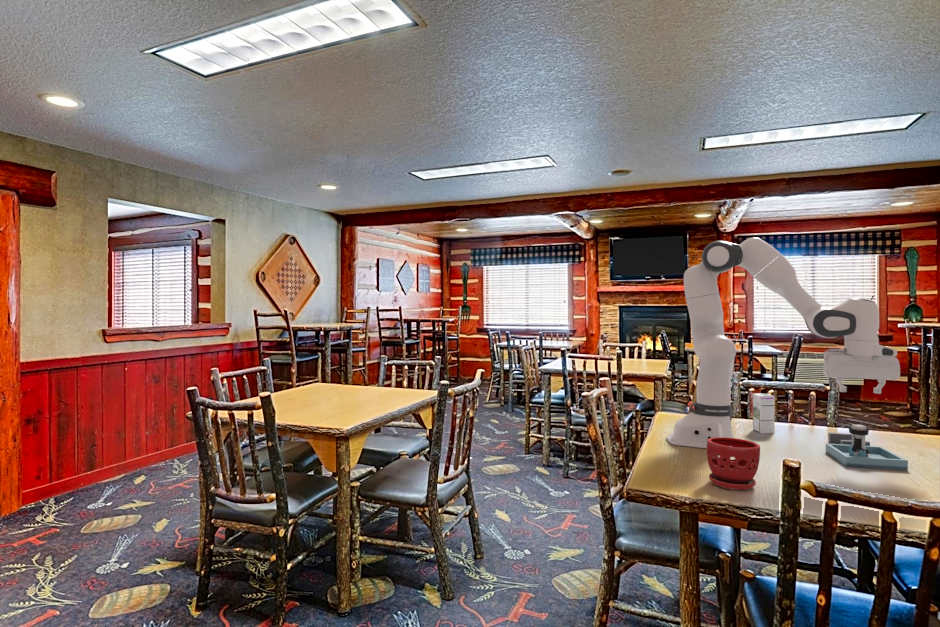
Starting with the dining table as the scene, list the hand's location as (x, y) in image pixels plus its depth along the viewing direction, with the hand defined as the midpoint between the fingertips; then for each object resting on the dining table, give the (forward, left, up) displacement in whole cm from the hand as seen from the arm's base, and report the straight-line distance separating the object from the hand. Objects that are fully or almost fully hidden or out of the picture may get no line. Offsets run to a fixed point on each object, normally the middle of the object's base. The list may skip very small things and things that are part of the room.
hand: (859, 392), depth 171 cm
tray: (+1, -2, -21) cm, 21 cm away
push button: (0, -2, -21) cm, 21 cm away
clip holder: (+3, +15, -21) cm, 26 cm away
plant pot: (-44, -36, -22) cm, 61 cm away
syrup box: (-19, +33, -22) cm, 44 cm away
